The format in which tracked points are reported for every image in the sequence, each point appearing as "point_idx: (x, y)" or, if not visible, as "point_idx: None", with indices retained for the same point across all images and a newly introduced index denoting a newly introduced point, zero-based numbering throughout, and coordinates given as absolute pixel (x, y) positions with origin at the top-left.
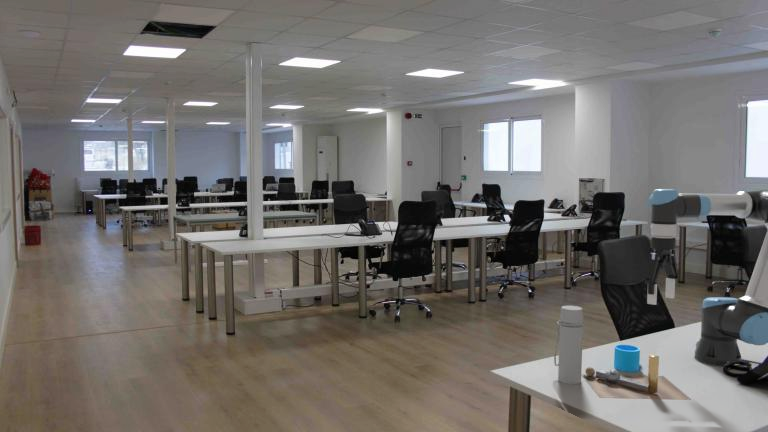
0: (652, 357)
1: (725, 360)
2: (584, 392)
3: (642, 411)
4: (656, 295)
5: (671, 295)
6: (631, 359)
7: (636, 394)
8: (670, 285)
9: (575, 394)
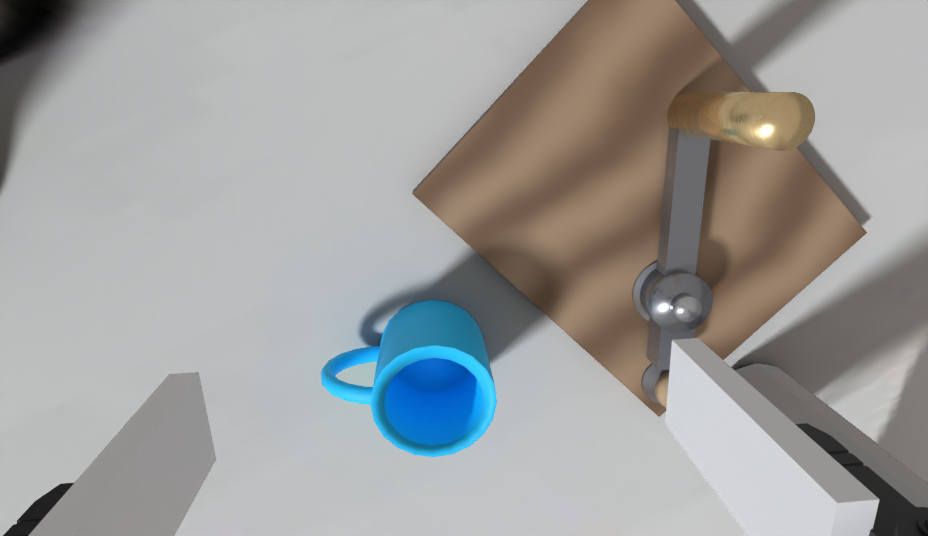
0: (814, 116)
1: None
2: (797, 314)
3: (856, 61)
4: (735, 395)
5: (190, 413)
6: (471, 340)
7: (738, 153)
8: (127, 526)
9: (839, 323)
